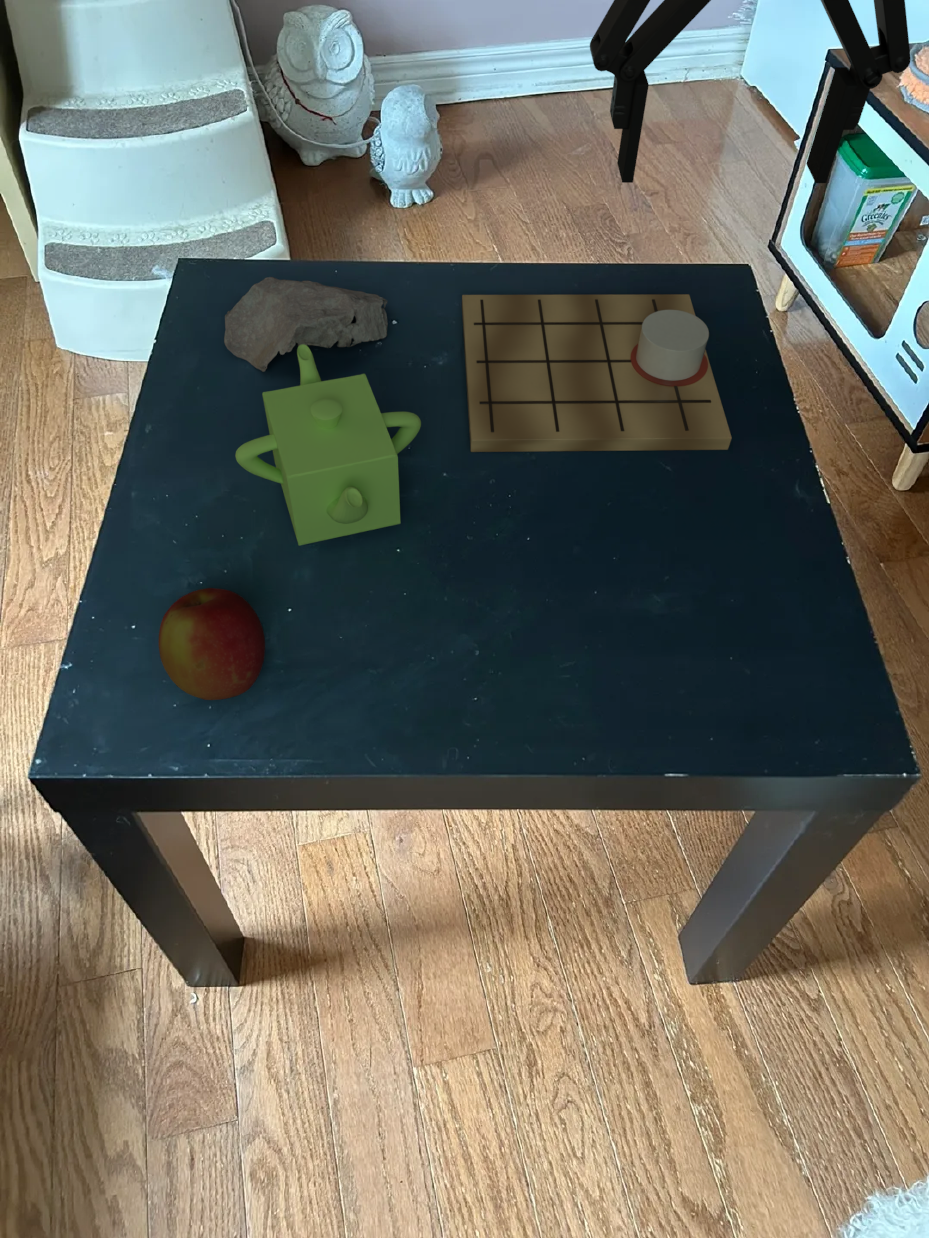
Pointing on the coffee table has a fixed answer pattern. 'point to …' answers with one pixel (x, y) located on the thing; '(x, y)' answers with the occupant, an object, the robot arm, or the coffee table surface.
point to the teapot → (331, 454)
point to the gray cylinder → (672, 344)
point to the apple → (212, 644)
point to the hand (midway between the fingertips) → (720, 173)
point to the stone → (300, 319)
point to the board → (579, 378)
